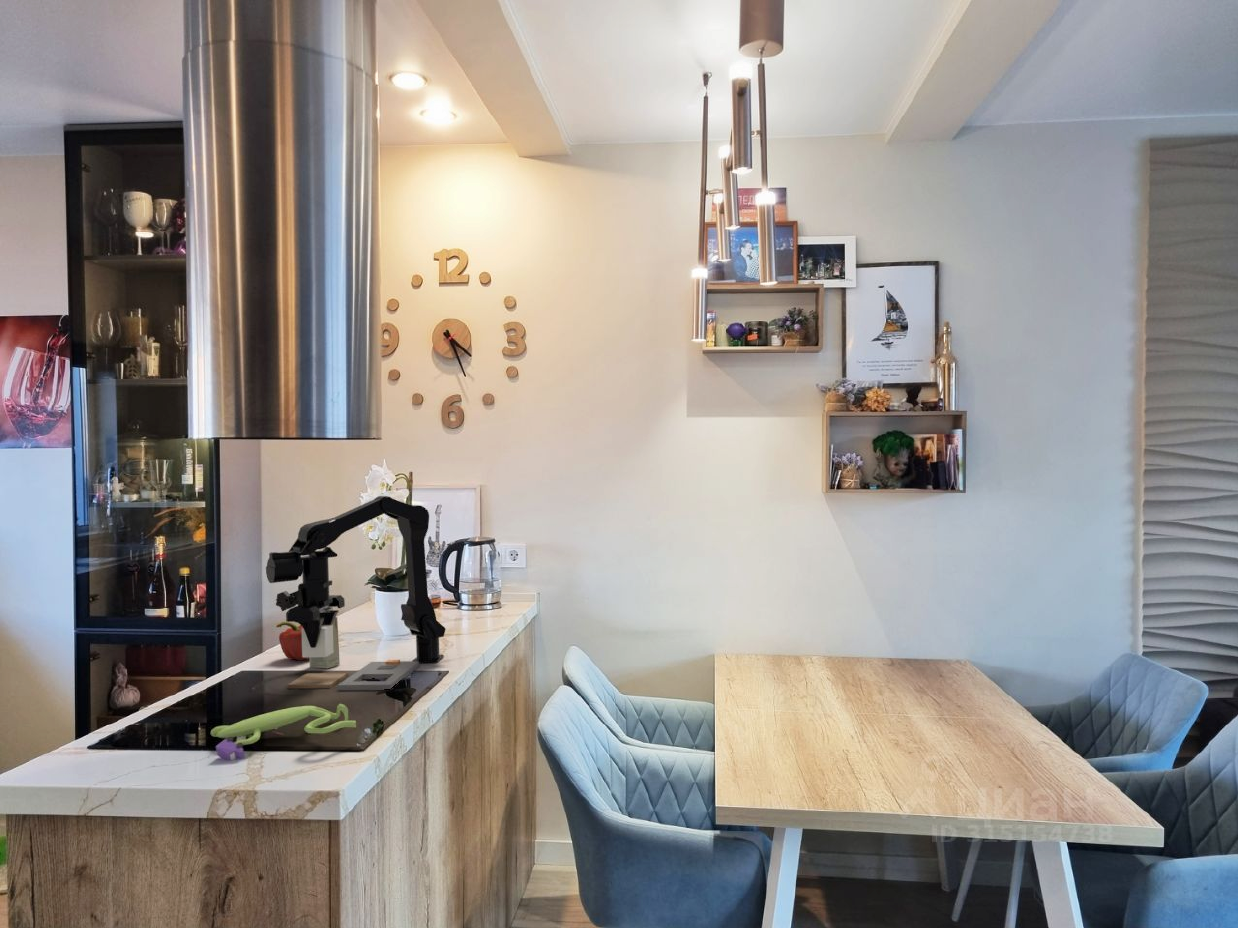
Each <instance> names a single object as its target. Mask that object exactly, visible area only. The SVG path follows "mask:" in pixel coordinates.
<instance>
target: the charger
mask: <svg viewBox="0 0 1238 928" xmlns="http://www.w3.org/2000/svg"><path fill="white" fill-rule="evenodd" d="M301 630H302V657H327V656H329V655H330V654H332V653H334V650H333V625H322V627H321V631H320V635H319V638H318V642H317V645H316V647H315V648H311V647H310V644H309V641H308V639H307V636H306V633H305V631H304V629H301Z"/></svg>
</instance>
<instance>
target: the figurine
mask: <svg viewBox="0 0 1238 928" xmlns="http://www.w3.org/2000/svg"><path fill="white" fill-rule="evenodd" d="M341 713H343V716H344V720H341V721H338V722H337V721H336V722H334V723H332V724H330V725H327V726H325V727H318V726H319V725H322V724H324V723H328V722H329V721H330V720H337V719H338V718H339V717H340V716H341ZM309 716H311V717H317V718H316V719H314V720H312V721H310V722H309V723H307V724H306V725H305V726H304V728H303V730H304V731H305V732H306V733H308V734H328V733H331V732H333V731H337V730H338V729H341V728H357V721H356V720H349V709H348V707H347V706H346V705H345V704H342V703H339V704H337V706H336V712H332V711H330V710H327V709H325V708H322V707H318V706H315V705H303V706H294V707H288V708H284V709H283V708H282V709H278V710H274V711H270V712H267V713H264V714H259V715H256V716H253V717H250V718H246V719H242V720H241V721H239V722H235V723H233V724H231V725H218V726H215V727H213V728H212V729H211V730H210V735H211V736H212V737H214V738H221V739H223V738H224V739H223V740H222V741H221V742H219V743H218V744H217V745H216V746H215V751H216V753H217V757H220V758H221V759H224V760H227V761H233V760H236V759H243V758H245V751H244V748H243V747H244V746H245V745H252V744H254V743H256V742H258V741H259V740H260V739H261V733H263V732H272V733H275V734H278V735H283V736H285V733H281V732H277V731H273V730H277V729H279V728H281V727H283V726H287V725H290V724H292V723H296V722H298V721H300V720H302V719H305V718H307V717H309ZM247 737H248V738H247ZM234 738H236V741H234ZM233 741H234V742H233Z"/></svg>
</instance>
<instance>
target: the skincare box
mask: <svg viewBox="0 0 1238 928" xmlns="http://www.w3.org/2000/svg"><path fill="white" fill-rule="evenodd" d="M332 625H333V650H334V653H332V654H330V655H329V656H327V657H309V661H308V662H309V668H314V669H315V668H316V669H317V668H318V669H330V668H333V667H336V666H339V665H341V664H340V643H339V642H340V641H339V625H338V616H336V617H335V619H334V622H333V624H332Z"/></svg>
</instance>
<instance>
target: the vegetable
mask: <svg viewBox="0 0 1238 928" xmlns="http://www.w3.org/2000/svg"><path fill="white" fill-rule="evenodd" d="M282 626H287V627H290V628H287V629H286V630H285V631H282V632H280V633H279V637H278V641H279V644H280V647H281V650H282V653H283V654H284V655H285V657H286V658H287V659H289V660H298V661H304V659H305V660H308V659H309V657H302V630H301V629H303V627H302V626H301V625H300V624H299V625H298V626H297V625H296V624H295V623H294V622H293V623H292V622H287V621H283V622H280V623H278V624H277V625H276V628H281V627H282Z"/></svg>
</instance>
